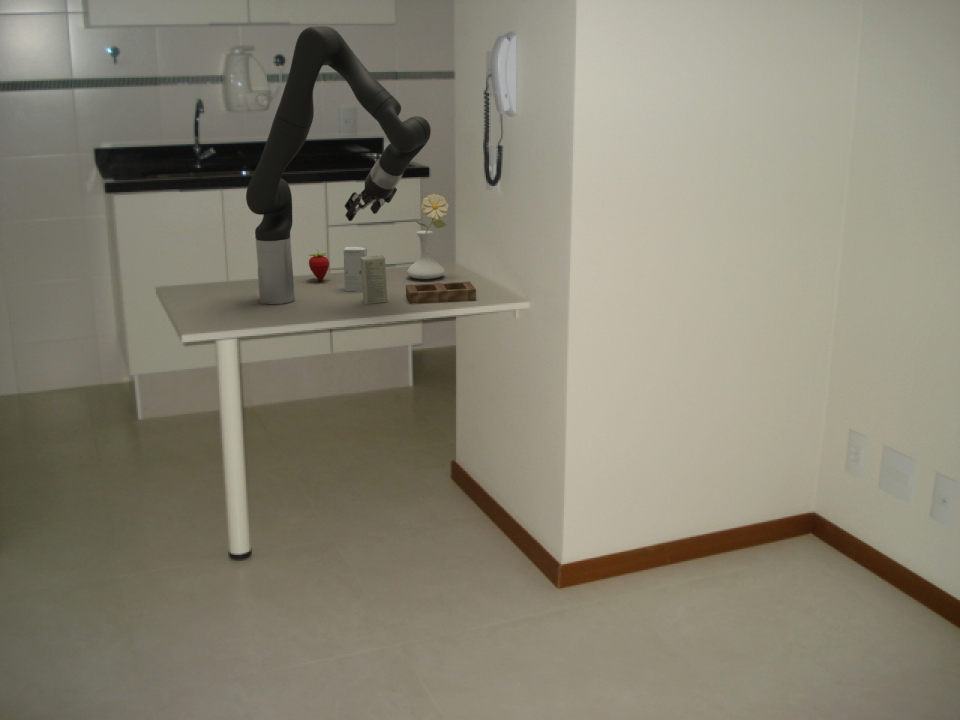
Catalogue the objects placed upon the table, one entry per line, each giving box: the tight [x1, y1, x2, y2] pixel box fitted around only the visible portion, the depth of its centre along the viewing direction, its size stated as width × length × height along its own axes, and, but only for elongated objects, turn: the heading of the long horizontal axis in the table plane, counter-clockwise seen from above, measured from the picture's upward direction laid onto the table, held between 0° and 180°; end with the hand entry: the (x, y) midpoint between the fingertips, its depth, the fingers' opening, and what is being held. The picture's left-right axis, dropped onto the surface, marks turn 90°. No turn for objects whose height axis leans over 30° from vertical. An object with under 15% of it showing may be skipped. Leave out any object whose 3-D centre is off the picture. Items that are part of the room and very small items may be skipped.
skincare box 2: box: [360, 255, 388, 305], centre depth 270 cm, size 6×4×12 cm
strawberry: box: [308, 248, 330, 282], centre depth 295 cm, size 6×8×10 cm
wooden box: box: [405, 281, 477, 304], centre depth 274 cm, size 18×10×3 cm, turn 100°
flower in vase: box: [406, 193, 449, 280], centre depth 296 cm, size 13×11×25 cm
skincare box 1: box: [343, 246, 368, 293], centre depth 284 cm, size 6×4×12 cm
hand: (360, 214), depth 269 cm, fingers open, 8 cm apart
